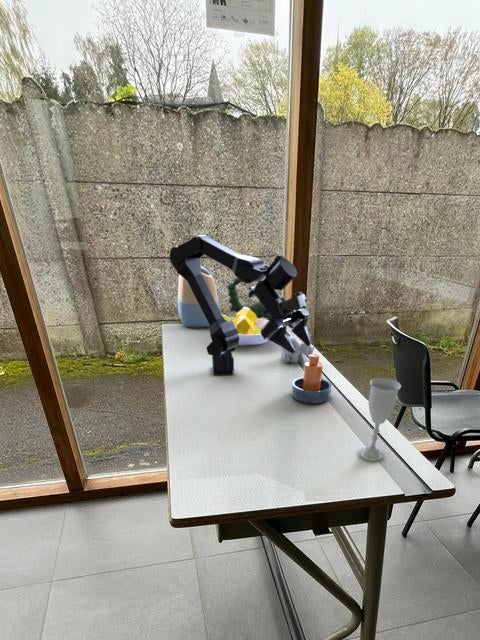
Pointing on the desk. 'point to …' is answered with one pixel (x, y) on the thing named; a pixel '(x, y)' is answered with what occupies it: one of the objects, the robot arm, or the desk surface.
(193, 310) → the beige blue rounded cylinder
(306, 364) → the orange bottle
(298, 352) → the round bodied animal figurine
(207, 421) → the desk surface
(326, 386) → the bowl
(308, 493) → the desk surface
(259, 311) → the toy figurine
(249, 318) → the fruit bowl
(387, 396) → the chalice
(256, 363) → the desk surface
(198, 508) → the desk surface
